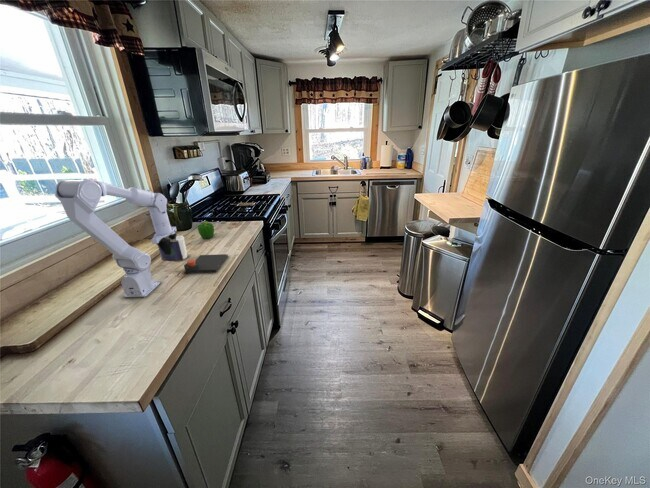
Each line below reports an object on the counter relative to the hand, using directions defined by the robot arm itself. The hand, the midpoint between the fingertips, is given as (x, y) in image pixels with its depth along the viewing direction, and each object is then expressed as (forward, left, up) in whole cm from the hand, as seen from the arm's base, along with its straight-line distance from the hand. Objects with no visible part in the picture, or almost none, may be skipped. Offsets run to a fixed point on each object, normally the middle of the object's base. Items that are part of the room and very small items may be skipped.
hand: (170, 252), depth 110 cm
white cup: (+12, +4, -9) cm, 15 cm away
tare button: (-1, -8, -6) cm, 10 cm away
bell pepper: (+38, +1, -9) cm, 39 cm away
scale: (+4, -13, -8) cm, 16 cm away
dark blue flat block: (0, 0, -4) cm, 4 cm away
